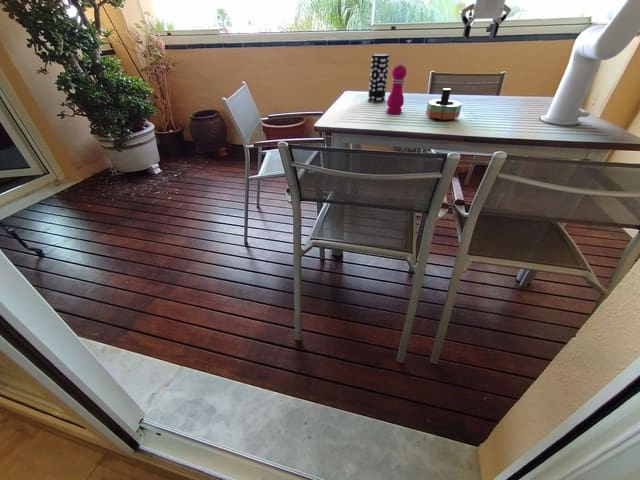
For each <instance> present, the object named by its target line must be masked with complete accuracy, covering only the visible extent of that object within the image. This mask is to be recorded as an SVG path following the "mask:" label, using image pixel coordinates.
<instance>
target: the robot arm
mask: <svg viewBox="0 0 640 480" xmlns="http://www.w3.org/2000/svg"><path fill="white" fill-rule="evenodd" d="M505 2H506V0H471V4H469V5H468V6H466V7H464V8H463V9H461V10H460V11H459V15H460V18H461V22H462V23H463V26H464V27H463V31H462V38H463V40H469V37H470V34H471V29H472V23H473V22H474V21H475V20H489V19H490V20H491V19H492V21H493V24H492V25H491V29H490V33H489V35H488V38H489V39H495V38H496V36H497V35H498V31H499V27H500V25H502V23H503V22H504V21H505V20H506V19H507V18H508V16H509V14H510V13H511V11H512V8H511V7H509V6H508V5H506V3H505ZM467 13H468V17H467ZM603 14H604V17H605V19H607V20H608V21H609V22H608V24H606V23H605V24H595V25H591V26H589V27H588V28H586V29H585V30H583V31H582V32H581V33H580V34H579V35H578V37H577V38H576V39H575V41H574V44H573V47H572V50H571V55H570V59H569V60H568V61H569V62H568V64H567V66H566V69H565V71H564V73H563V76H562V78H561V81H560V83H559V85H558V88H557V90H556V92H555V94H554V97H553V99H552V102H551V103H550V107H549V109H548V111H547V113H546V114H542V115H541V117H540V120H541V121H543V122H545V123H548V124H551V125H557V126H558V125H559V126H575V125H578V124H579V122H580V120H579V118H581V117H582V118H588V117H589V116H590V114H591V113H590V111H582V110H581V107H582V106H583V103H584V101H585V100H586V97H587V95H588V93H589V91H590V89H591V88H592V85H593V84H594V81H595V79H596V76H597V75H598V73H599V69H600V67H601V63H602V61H606V60H610V59H612V58H615V57H617V56H618V55H619V54H620V53H622V52H623V51H624V50H625V49H626V48H627V47H628V46H629V45H630V43H631V42H632V41H633V40H634V39H635V38H636V36H638V35H639V33H640V0H609V1H608V2H607V3H606V5H605V7H604V11H603Z"/></svg>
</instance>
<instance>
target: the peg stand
mask: <svg viewBox="0 0 640 480" xmlns="http://www.w3.org/2000/svg"><path fill="white" fill-rule="evenodd" d="M451 91H452V89H451V88H448V87H447V88H446V87H445V88H443V89H442V91H441V97H440V100H441V101H440V105H448V100H450V95H451ZM430 118H431V119H432V120H433V121H454V120H455V119H437V118H432V117H430Z"/></svg>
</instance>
